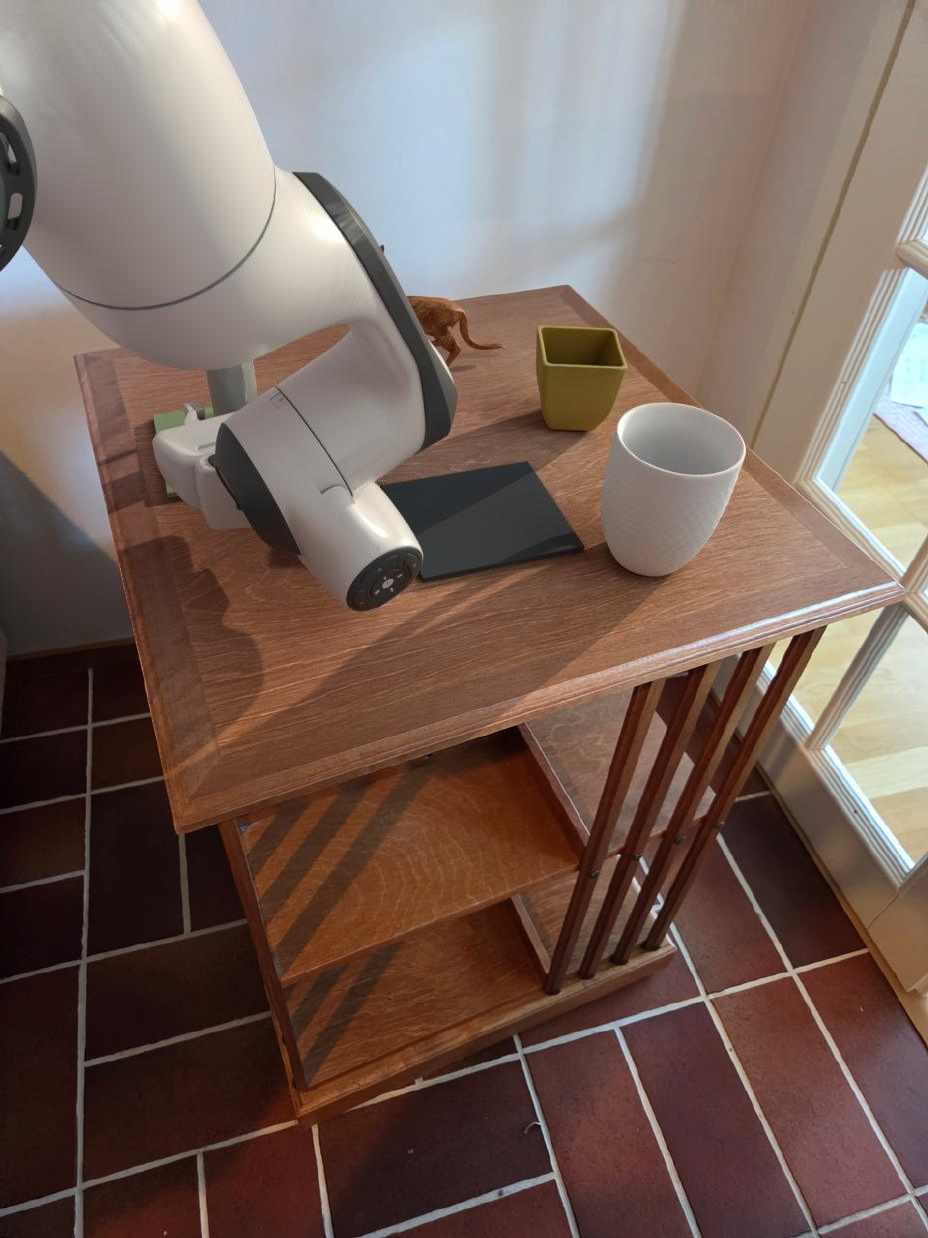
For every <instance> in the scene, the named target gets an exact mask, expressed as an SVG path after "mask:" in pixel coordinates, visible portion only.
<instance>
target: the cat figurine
mask: <svg viewBox="0 0 928 1238" xmlns="http://www.w3.org/2000/svg"><path fill="white" fill-rule="evenodd" d="M379 246H380V248H381V250H382V251H383V253H384V254H385V245H384V244H381V245H379ZM406 296H407V299H408V301H409V303H410V305H411V307H412V309H413V311H414V313H415V315H416V317H417V319H418V321H419V323H420V325H421V327H422V329H423V331H424V333H425V335H426V336H430V337H432V338H434V340H430V342H431V343H432V344H433V346H434V347H435V348H438V347H441V348H442V349H444V350H445V351H447V352H448V356H447V358H446V360H445V363H446V365H447V367H448V368H450V366H451V365H452V363H453V362H454V361H455V360H456V359H457V357H458V356H459V355H460V353H461V351H462V347H461V346H460V344H459V342H458V341H457V339H456V337H455V335H454V333H453V332H452V330H453V329H454V327H455V326H456V325H457V324H459V332H460V335H461V337H462V339H463V341H464V342H465V344H466V345H467V346H469V348H472V349H474V350H479V351H490V350H500V349H503V348H504V347H505V346H504V344H503V343H497V342H495V343H483V342H479V341H477V340H474V339H473V338H472V337H471V335H470V331H469V319H468V315H467V313H466V311H465V310H464V309H463V307H461V306H460V305H459V304H457V303H456V302H454V301H452V300H450V299H447V298H444V297H435V296H434V297H433V296H423V295H406ZM458 322H459V323H458Z"/></svg>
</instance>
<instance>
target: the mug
mask: <svg viewBox="0 0 928 1238" xmlns="http://www.w3.org/2000/svg"><path fill="white" fill-rule="evenodd" d="M746 449H747V448H746V444H745V441H744V439H743V437H742V435H741V433H740V432H739V431H738V430H737V429H736V428H735V426H733V425H732V424H731V423H729V422H728V421H726V419H724V418H722V417H720V416H718V415H716V414H714V413H712V412H710V411H708V410H706V409H702V408H699V407H696V406H693V405H689V404H683V403H677V402H651V403H645V404H642V405H638V406H635V407H633V408H631V409H629V410H627V411H626V412H624V413H623V415H622V416H621V417H620V418H619V419H618V420H617V423H616V425H615V429H614V434H613V437H612V442H611V446H610V449H609V452H608V458H607V461H606V465H605V471H604V475H603V483H602V489H601V490H602V491H601V493H602V495H601V509H600V512H601V524H602V532H603V534H604V538H605V542H606V544H607V547H608V549H609V551H610V554H611V555H612V557H613V558H614V559H615V561H616V562H617V563H618V564H619V565H620V566H621V567H623V568H625V569H626V570H628V571H630V572H631V573H634V574H637V575H641V576H646V577H663V576H667V575H670V574H672V573H674V572H677V571H678V570H681V569H682V568H684V566H685V565H687V564H689V563H690V561H692V560H694V558H695V557H696V556H697V554H699V553H700V552H701V551H702V549H703V547H705V545H706V544H707V543H708V541H709V539H710V538H711V537H712V536H713V534H714V531H715V530H716V528H717V526H718V525H719V524H720V521H721V518H722V517H723V515H724V513H725V511H726V507H727V506H728V505H729V502H730V498H731V495H732V494H733V492H734V489H735V486H736V483H737V481H738V479H739V474H740V472H741V469H742V467H743V464H744V461H745V458H746V453H747V450H746Z"/></svg>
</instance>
